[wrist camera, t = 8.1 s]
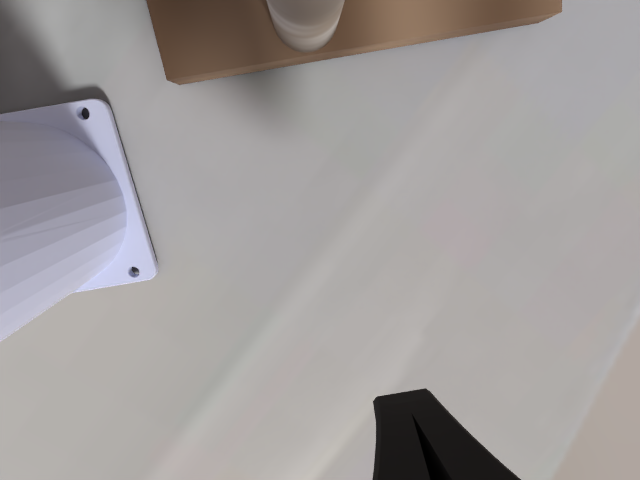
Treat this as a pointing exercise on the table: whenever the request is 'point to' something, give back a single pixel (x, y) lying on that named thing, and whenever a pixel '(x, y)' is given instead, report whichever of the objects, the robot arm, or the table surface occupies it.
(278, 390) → the table surface
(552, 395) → the table surface
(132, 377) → the table surface
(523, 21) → the board
